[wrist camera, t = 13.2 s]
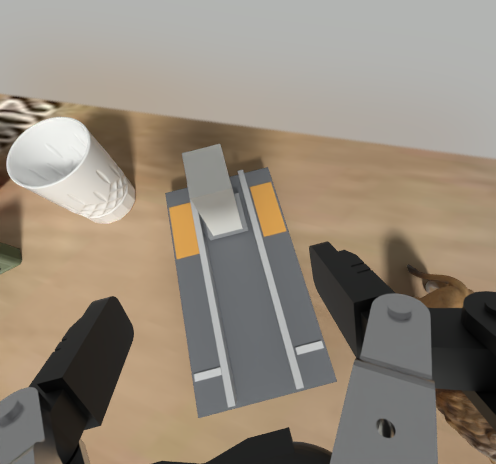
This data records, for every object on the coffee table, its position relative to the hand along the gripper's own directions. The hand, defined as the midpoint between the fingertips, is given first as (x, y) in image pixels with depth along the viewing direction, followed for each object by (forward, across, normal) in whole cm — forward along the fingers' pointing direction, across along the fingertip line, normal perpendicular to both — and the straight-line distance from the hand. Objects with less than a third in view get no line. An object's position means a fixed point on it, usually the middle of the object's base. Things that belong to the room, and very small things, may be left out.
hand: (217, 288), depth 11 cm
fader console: (+15, 0, +10) cm, 18 cm away
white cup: (+25, +14, 0) cm, 29 cm away
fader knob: (+17, 0, +3) cm, 17 cm away
